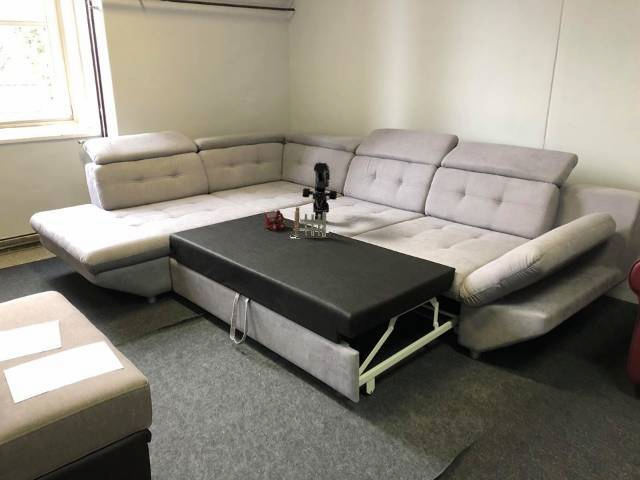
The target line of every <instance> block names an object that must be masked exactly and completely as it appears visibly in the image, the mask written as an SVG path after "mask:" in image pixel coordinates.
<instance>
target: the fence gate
mask: <svg viewBox="0 0 640 480" xmlns="http://www.w3.org/2000/svg"><path fill="white" fill-rule="evenodd" d="M310 218H311V219H308V213H304V219H303V218H301V219H300V218H299V225H304V227H299V230H300V231H305V236H307V231H311V236H314V231H315V232H318V236H320V232H322V237H326V230H327V222H326V221H327V213H326V212H323V216H322V220H320V219H321V214H318V220H315V213H311V217H310ZM308 225H310V226H311V227H308ZM315 225H316V226H317V228H315V227H314V226H315ZM321 226H322V227H321Z"/></svg>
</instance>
